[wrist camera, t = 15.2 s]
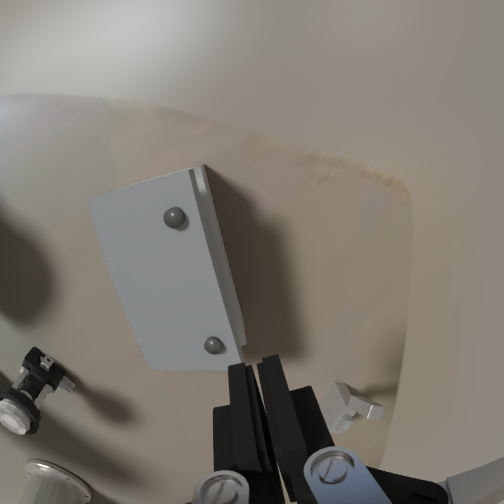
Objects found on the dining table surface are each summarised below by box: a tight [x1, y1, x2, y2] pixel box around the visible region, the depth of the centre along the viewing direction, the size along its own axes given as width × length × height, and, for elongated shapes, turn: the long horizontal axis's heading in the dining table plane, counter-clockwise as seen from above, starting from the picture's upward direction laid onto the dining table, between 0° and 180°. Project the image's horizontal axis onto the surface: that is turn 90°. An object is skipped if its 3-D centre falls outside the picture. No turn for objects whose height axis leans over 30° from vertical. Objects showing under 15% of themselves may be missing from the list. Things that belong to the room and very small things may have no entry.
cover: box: [87, 169, 246, 371], centre depth 21 cm, size 14×8×1 cm, turn 13°
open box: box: [95, 164, 247, 346], centre depth 25 cm, size 14×8×5 cm, turn 12°
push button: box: [0, 347, 75, 435], centre depth 25 cm, size 7×5×10 cm
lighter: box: [319, 382, 385, 434], centre depth 30 cm, size 7×2×8 cm, turn 158°
